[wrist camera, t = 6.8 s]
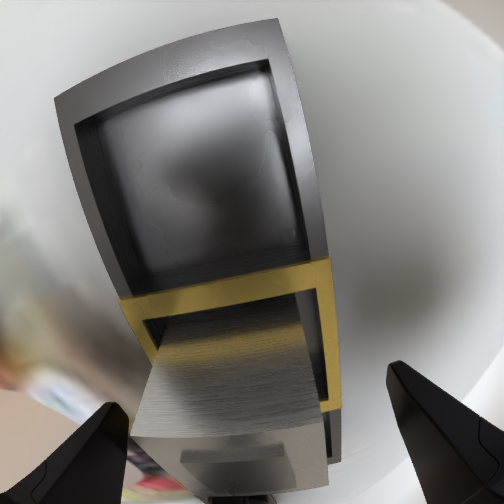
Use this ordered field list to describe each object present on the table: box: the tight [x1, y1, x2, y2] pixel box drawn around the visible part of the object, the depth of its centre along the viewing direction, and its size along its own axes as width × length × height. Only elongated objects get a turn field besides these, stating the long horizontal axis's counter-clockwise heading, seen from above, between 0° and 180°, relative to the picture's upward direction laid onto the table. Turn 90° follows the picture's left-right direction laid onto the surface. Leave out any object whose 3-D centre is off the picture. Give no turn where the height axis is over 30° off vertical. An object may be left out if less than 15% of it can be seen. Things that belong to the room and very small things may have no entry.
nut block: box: [130, 293, 329, 497], centre depth 8 cm, size 4×4×6 cm
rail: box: [54, 18, 342, 465], centre depth 10 cm, size 20×6×2 cm, turn 13°
